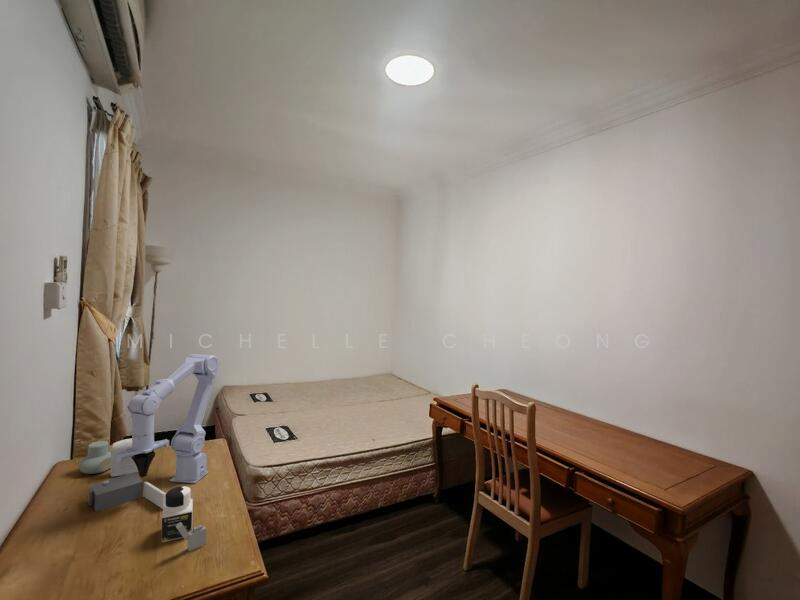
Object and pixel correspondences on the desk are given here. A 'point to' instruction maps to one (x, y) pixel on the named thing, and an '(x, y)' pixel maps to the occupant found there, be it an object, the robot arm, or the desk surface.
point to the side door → (154, 494)
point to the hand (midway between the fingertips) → (142, 475)
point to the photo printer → (124, 465)
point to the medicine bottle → (177, 512)
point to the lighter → (193, 536)
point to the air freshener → (96, 458)
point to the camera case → (115, 491)
